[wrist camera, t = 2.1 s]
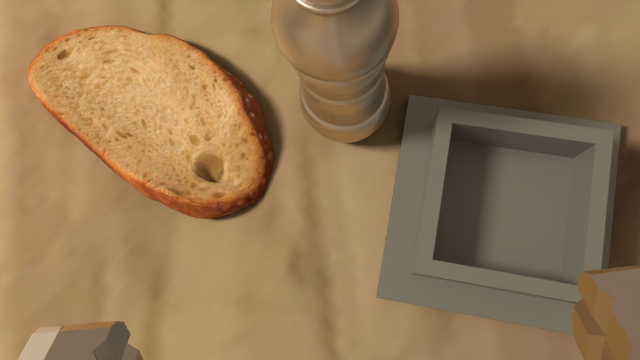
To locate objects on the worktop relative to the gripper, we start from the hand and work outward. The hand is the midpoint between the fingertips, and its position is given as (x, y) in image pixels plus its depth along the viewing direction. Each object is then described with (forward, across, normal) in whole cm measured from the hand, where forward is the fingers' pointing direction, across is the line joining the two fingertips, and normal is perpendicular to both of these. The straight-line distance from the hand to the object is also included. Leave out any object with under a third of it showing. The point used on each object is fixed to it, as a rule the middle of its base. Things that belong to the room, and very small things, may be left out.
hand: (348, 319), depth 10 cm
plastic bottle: (+31, 0, +11) cm, 33 cm away
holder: (+24, -10, +18) cm, 31 cm away
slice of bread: (+32, +15, +11) cm, 37 cm away
